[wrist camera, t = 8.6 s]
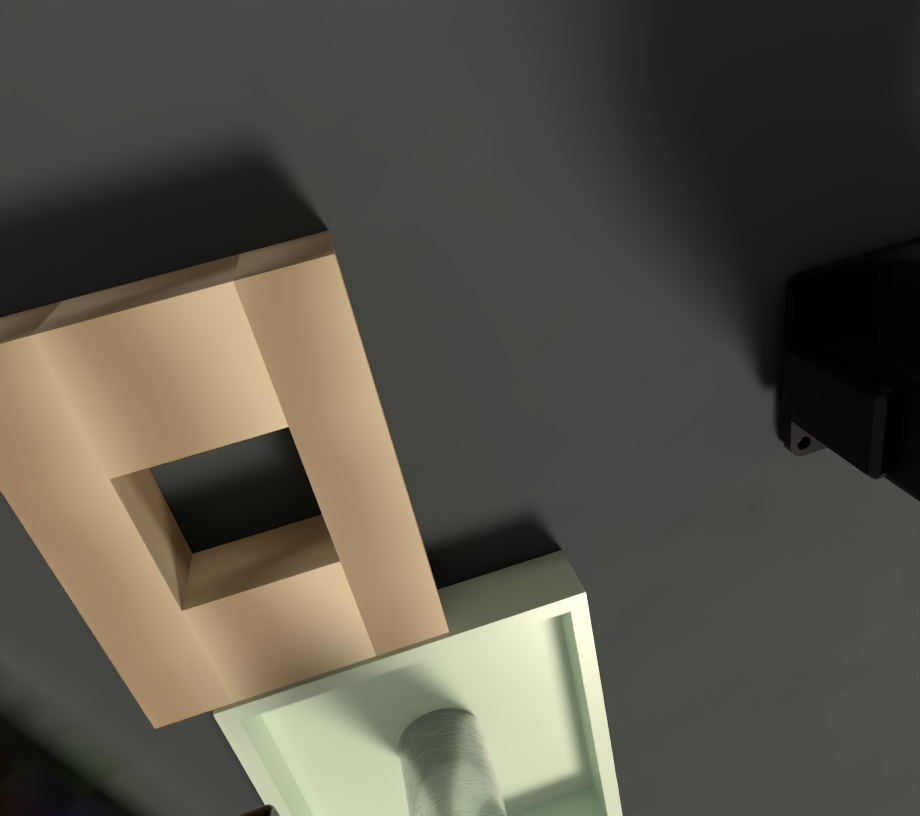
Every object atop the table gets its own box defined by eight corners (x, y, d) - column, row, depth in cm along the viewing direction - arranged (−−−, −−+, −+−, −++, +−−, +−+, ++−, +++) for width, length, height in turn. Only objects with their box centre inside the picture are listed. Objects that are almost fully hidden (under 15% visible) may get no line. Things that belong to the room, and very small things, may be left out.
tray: (562, 549, 24) (586, 592, 22) (602, 776, 30) (624, 825, 28) (219, 660, 23) (213, 714, 21) (334, 872, 29) (337, 930, 27)
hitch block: (329, 230, 18) (334, 253, 16) (434, 579, 23) (449, 632, 21) (-34, 326, 17) (-81, 365, 15) (167, 664, 23) (155, 728, 20)
